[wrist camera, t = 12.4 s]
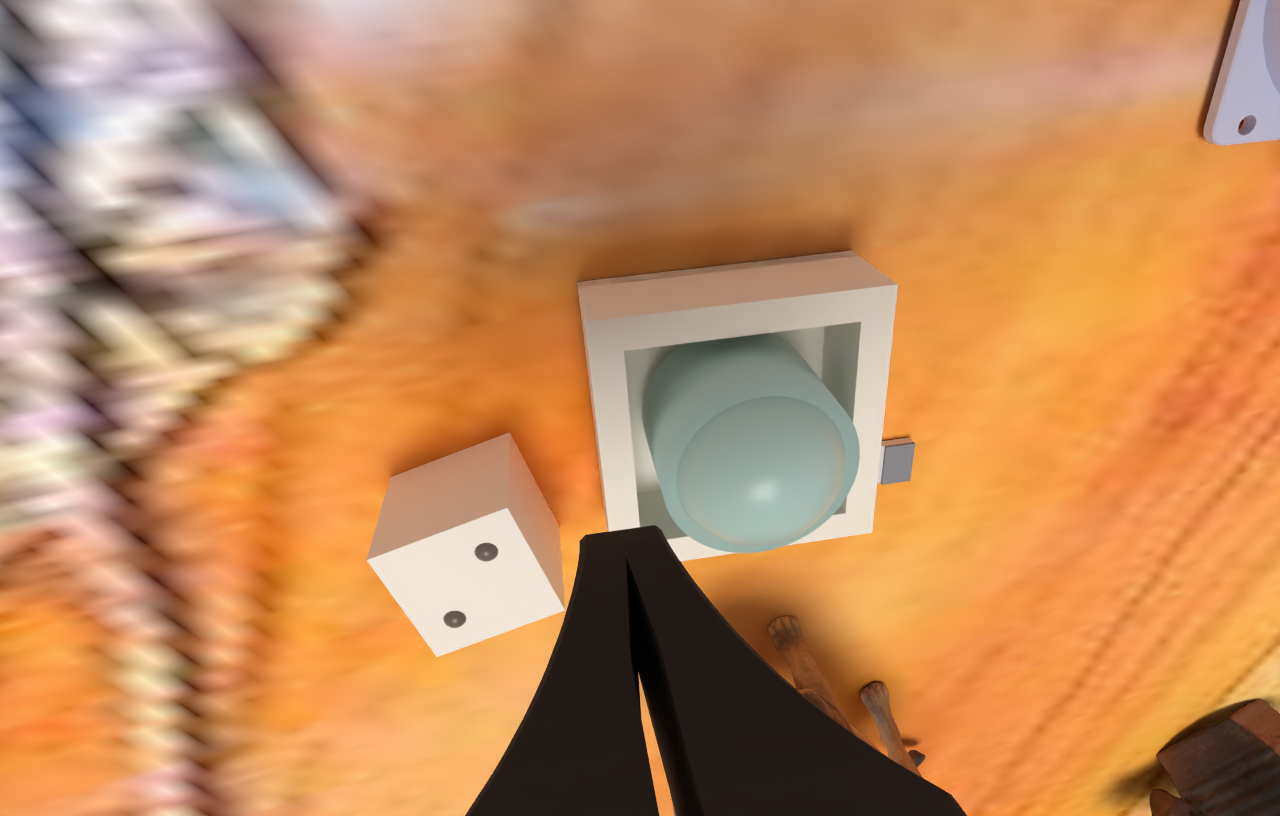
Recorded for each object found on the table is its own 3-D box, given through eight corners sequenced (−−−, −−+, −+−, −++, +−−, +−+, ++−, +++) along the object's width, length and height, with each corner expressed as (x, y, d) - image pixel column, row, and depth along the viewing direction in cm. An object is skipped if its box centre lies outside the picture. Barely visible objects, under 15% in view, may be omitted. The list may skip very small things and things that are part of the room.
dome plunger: (817, 316, 21) (895, 398, 16) (809, 468, 23) (875, 574, 19) (635, 338, 20) (665, 428, 16) (648, 491, 23) (677, 605, 18)
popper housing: (851, 250, 21) (898, 284, 19) (835, 478, 25) (871, 532, 22) (577, 281, 20) (584, 322, 18) (604, 511, 24) (613, 571, 22)
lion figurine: (630, 659, 28) (671, 912, 20) (721, 568, 26) (805, 804, 19) (875, 776, 34) (981, 1007, 26) (963, 707, 32) (1103, 931, 24)
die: (509, 430, 23) (507, 512, 19) (559, 525, 25) (565, 615, 21) (390, 475, 23) (365, 565, 19) (449, 565, 25) (436, 662, 21)
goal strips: (909, 437, 25) (914, 443, 24) (866, 779, 34) (869, 787, 33) (646, 473, 24) (647, 480, 24) (673, 813, 33) (675, 822, 33)
